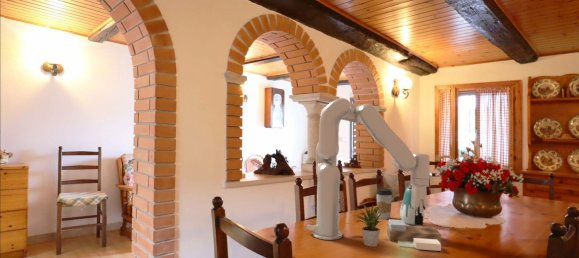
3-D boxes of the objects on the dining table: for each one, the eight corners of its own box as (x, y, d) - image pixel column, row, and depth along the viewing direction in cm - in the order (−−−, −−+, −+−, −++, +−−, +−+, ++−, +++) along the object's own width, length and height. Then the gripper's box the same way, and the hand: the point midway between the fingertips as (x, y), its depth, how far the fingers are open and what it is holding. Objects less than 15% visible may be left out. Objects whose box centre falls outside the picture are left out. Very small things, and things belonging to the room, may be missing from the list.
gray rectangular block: (405, 231, 144) (405, 225, 144) (390, 230, 145) (391, 224, 145) (402, 225, 152) (402, 220, 152) (388, 224, 154) (388, 219, 154)
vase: (420, 227, 165) (420, 190, 165) (396, 223, 172) (396, 187, 172) (427, 223, 174) (427, 187, 174) (404, 219, 181) (404, 185, 181)
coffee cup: (393, 217, 185) (394, 189, 185) (389, 220, 178) (389, 191, 178) (378, 215, 189) (379, 187, 189) (373, 218, 182) (374, 189, 182)
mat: (399, 246, 136) (399, 245, 136) (397, 241, 143) (397, 240, 143) (431, 249, 134) (431, 248, 134) (428, 243, 140) (428, 242, 140)
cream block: (413, 237, 138) (413, 244, 138) (416, 242, 132) (416, 249, 132) (437, 239, 137) (437, 245, 137) (441, 244, 131) (441, 250, 131)
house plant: (363, 236, 150) (364, 198, 150) (394, 242, 141) (394, 202, 141) (346, 243, 139) (347, 203, 139) (379, 251, 130) (379, 208, 130)
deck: (389, 241, 143) (390, 231, 143) (387, 232, 155) (387, 224, 155) (441, 244, 140) (441, 234, 140) (434, 236, 151) (434, 227, 151)
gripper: (407, 179, 157) (407, 219, 157) (413, 184, 142) (412, 228, 142) (425, 180, 156) (424, 221, 155) (432, 185, 141) (431, 230, 141)
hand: (418, 224), depth 149 cm, fingers closed
